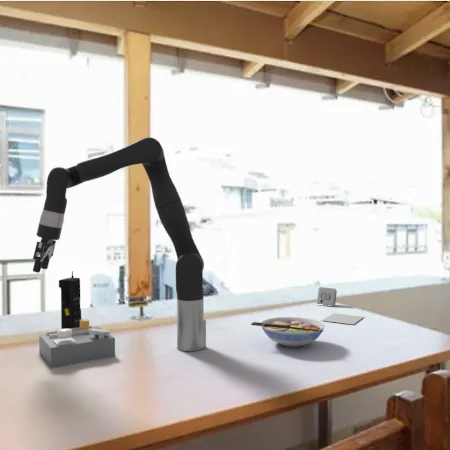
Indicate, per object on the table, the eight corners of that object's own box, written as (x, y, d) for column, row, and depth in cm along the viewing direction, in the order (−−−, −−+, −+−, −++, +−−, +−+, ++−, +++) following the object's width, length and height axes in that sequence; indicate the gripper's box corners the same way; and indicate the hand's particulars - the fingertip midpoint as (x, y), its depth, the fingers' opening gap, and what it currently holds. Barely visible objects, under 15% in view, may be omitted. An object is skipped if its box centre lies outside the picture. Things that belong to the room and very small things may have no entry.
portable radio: (72, 342, 159) (71, 274, 159) (57, 341, 160) (56, 273, 160) (83, 336, 167) (82, 271, 166) (69, 335, 168) (68, 271, 168)
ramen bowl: (333, 340, 160) (333, 318, 160) (319, 358, 140) (319, 333, 140) (269, 333, 171) (269, 312, 171) (247, 349, 150) (247, 325, 150)
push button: (70, 334, 141) (69, 327, 141) (73, 337, 137) (73, 330, 137) (55, 336, 139) (55, 329, 139) (58, 339, 135) (58, 332, 135)
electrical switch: (316, 305, 225) (317, 287, 226) (320, 304, 229) (321, 286, 230) (333, 307, 219) (334, 288, 220) (337, 306, 224) (338, 288, 224)
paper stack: (385, 320, 192) (385, 319, 192) (371, 333, 171) (371, 331, 171) (334, 314, 204) (334, 313, 204) (314, 326, 183) (314, 324, 183)
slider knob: (86, 328, 153) (86, 318, 153) (89, 330, 151) (89, 320, 151) (79, 329, 152) (79, 319, 152) (82, 331, 150) (82, 321, 149)
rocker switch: (105, 333, 147) (106, 329, 147) (109, 335, 144) (109, 332, 144) (88, 332, 144) (88, 328, 144) (91, 334, 141) (92, 330, 141)
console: (98, 342, 158) (98, 320, 158) (115, 355, 143) (114, 331, 143) (39, 352, 147) (39, 328, 147) (50, 367, 132) (50, 341, 132)
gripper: (56, 227, 143) (44, 275, 143) (67, 226, 157) (56, 269, 157) (33, 222, 142) (21, 270, 142) (46, 221, 156) (35, 265, 156)
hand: (40, 270), depth 150 cm, fingers open, 8 cm apart
